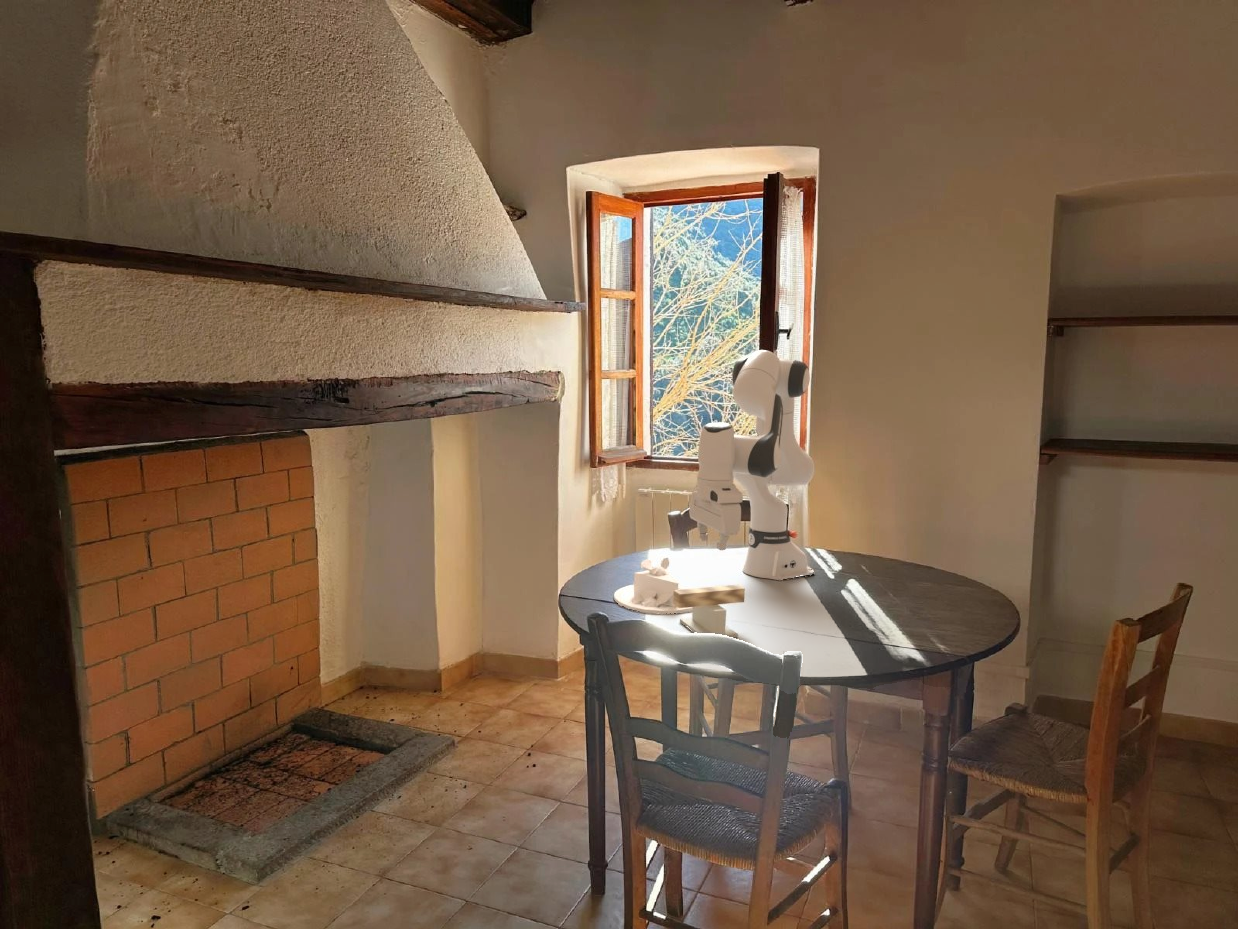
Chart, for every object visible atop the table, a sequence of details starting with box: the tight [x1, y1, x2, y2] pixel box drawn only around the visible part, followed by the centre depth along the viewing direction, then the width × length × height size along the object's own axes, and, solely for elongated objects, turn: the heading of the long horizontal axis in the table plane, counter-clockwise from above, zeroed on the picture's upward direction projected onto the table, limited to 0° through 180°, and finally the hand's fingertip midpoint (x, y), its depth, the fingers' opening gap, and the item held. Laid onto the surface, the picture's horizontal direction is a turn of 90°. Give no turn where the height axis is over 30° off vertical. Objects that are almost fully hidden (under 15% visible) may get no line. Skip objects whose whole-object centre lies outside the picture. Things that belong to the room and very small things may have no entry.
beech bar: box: [673, 584, 746, 608], centre depth 205 cm, size 18×4×4 cm, turn 111°
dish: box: [613, 557, 693, 615], centre depth 229 cm, size 25×25×11 cm
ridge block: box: [679, 604, 739, 639], centre depth 206 cm, size 9×14×7 cm, turn 21°
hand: (712, 544), depth 203 cm, fingers open, 8 cm apart
